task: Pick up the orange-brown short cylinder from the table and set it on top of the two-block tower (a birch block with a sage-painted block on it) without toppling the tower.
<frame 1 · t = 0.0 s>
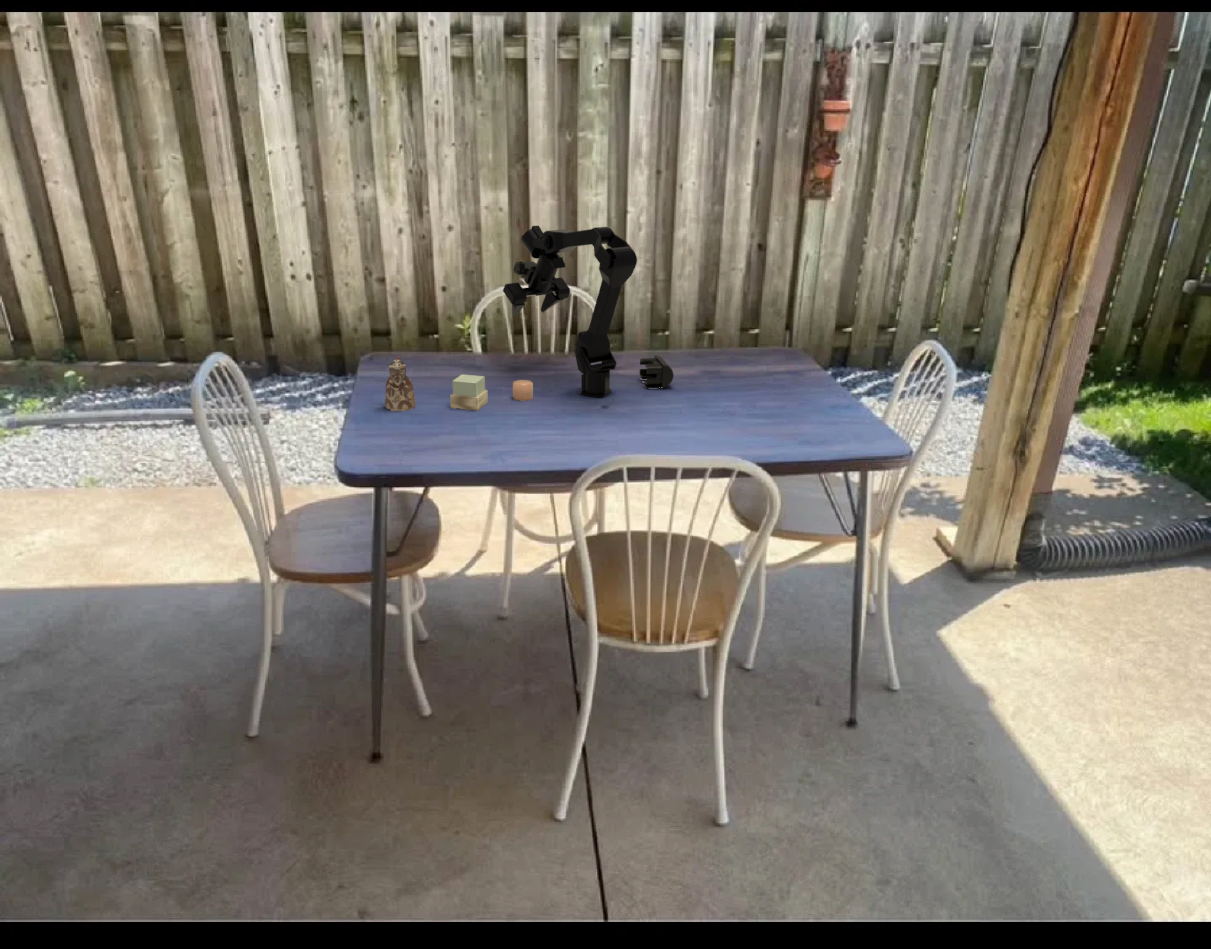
hand: (528, 313, 243), 15 cm above the table, tool tilted 35°, fingers open, 9 cm apart
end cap: (655, 385, 236), on the table
orange-brown short cylinder: (523, 398, 222), on the table
base block: (469, 406, 215), on the table, touching top block
top block: (469, 392, 214), point 3 cm above the table, touching base block
figurine: (400, 407, 213), on the table
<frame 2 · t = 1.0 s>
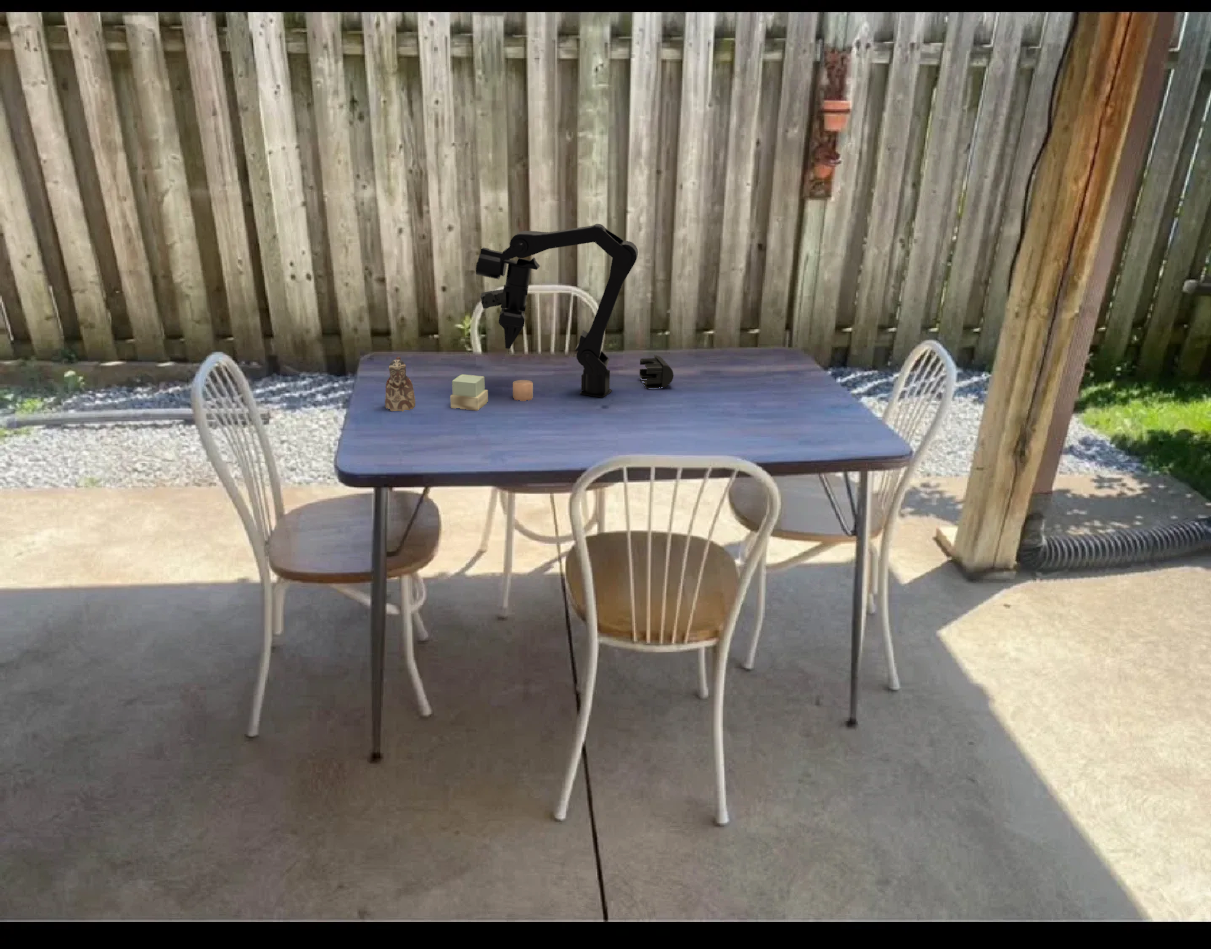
hand: (508, 343, 223), 12 cm above the table, tool pointing down, fingers open, 9 cm apart
base block: (469, 406, 215), on the table
top block: (468, 392, 214), point 3 cm above the table
everything else where it was.
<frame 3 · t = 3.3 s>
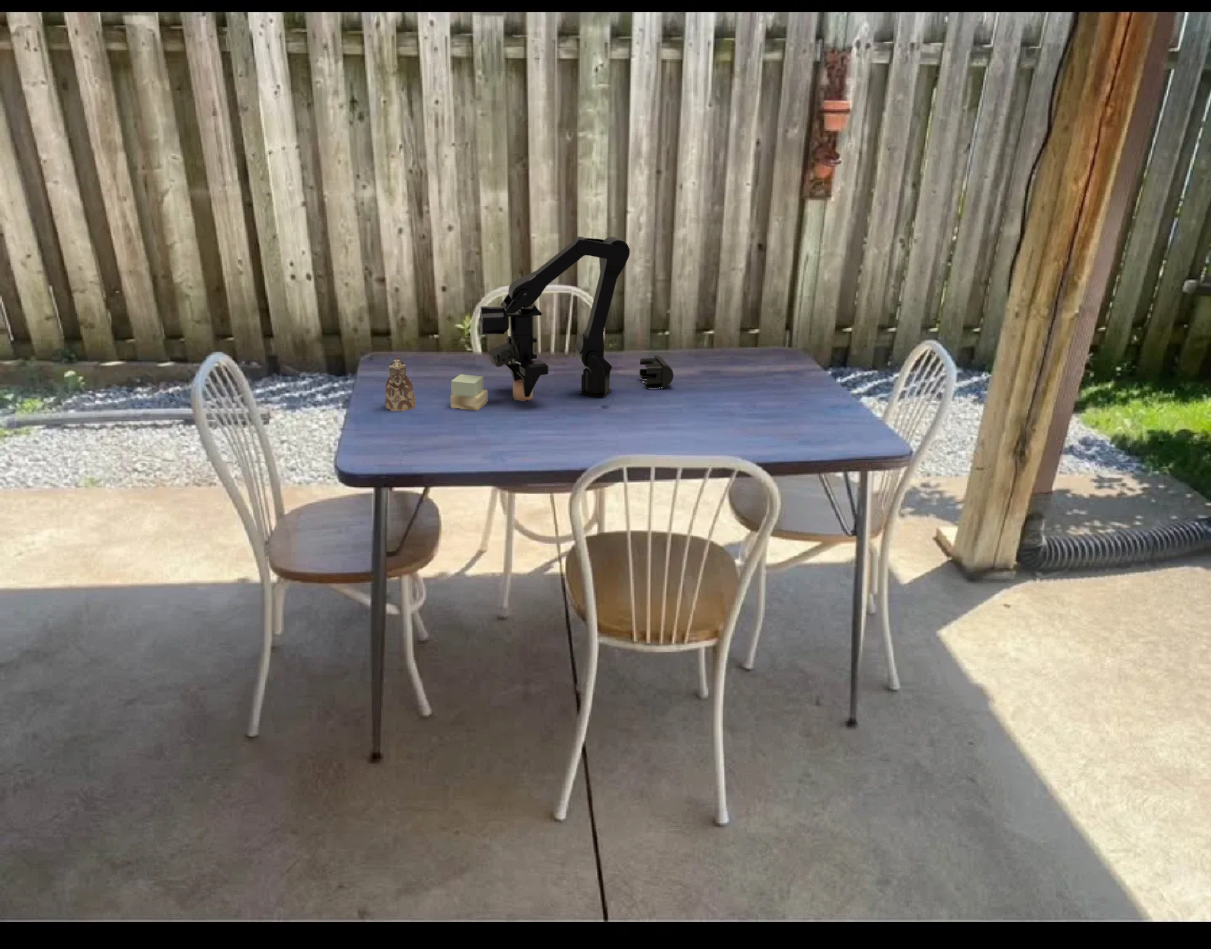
hand: (522, 393, 221), 1 cm above the table, tool pointing down, fingers closed on orange-brown short cylinder, 5 cm apart
orange-brown short cylinder: (522, 397, 221), on the table, touching gripper
everything else where it was.
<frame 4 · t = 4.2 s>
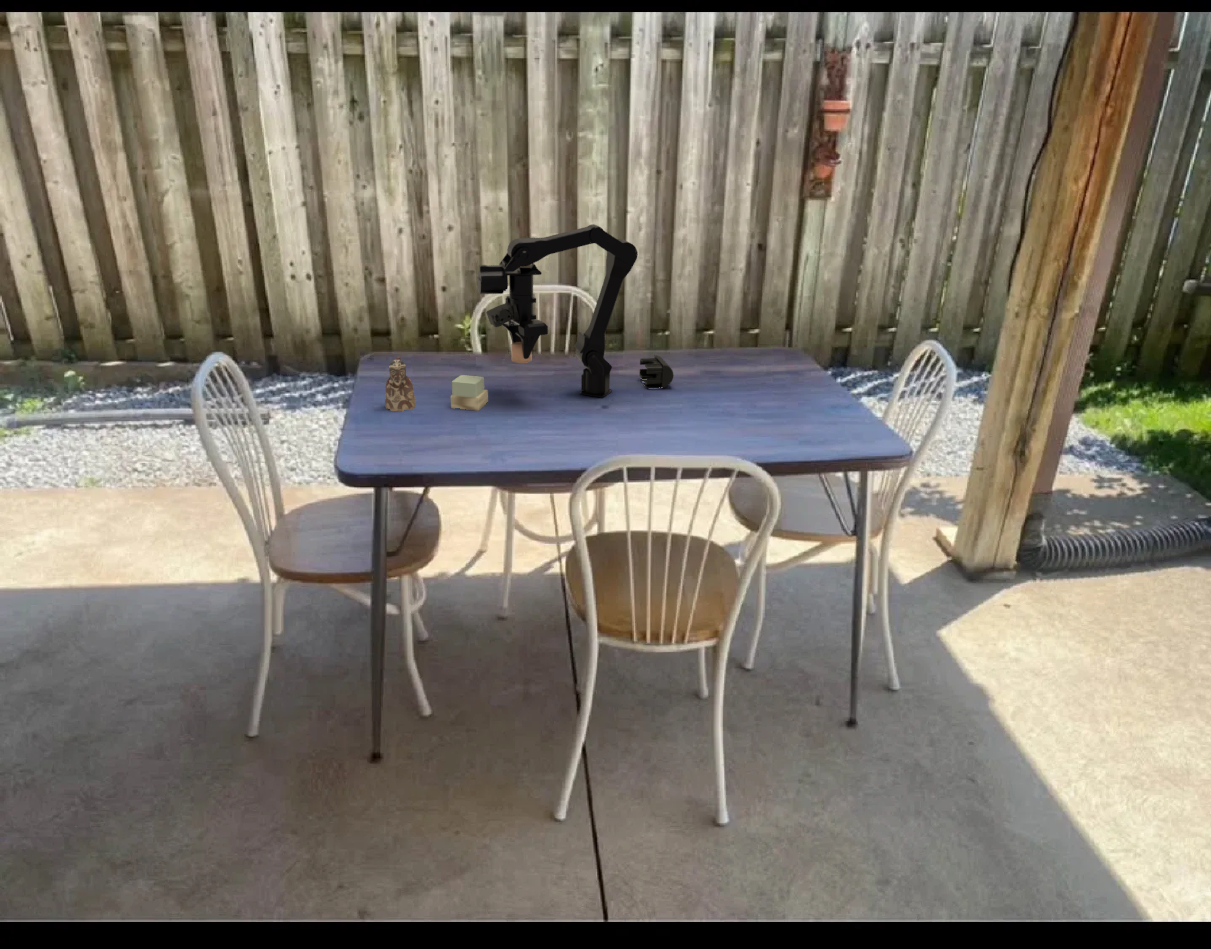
hand: (521, 355, 217), 11 cm above the table, tool pointing down, fingers closed on orange-brown short cylinder, 5 cm apart
orange-brown short cylinder: (521, 360, 218), point 10 cm above the table, touching gripper
base block: (469, 406, 215), on the table, touching top block
top block: (468, 393, 214), point 3 cm above the table, touching base block
everything else where it was.
when the fingers open (9 cm above the table, at t = 6.3 s): orange-brown short cylinder drops 1 cm, point 7 cm above the table.
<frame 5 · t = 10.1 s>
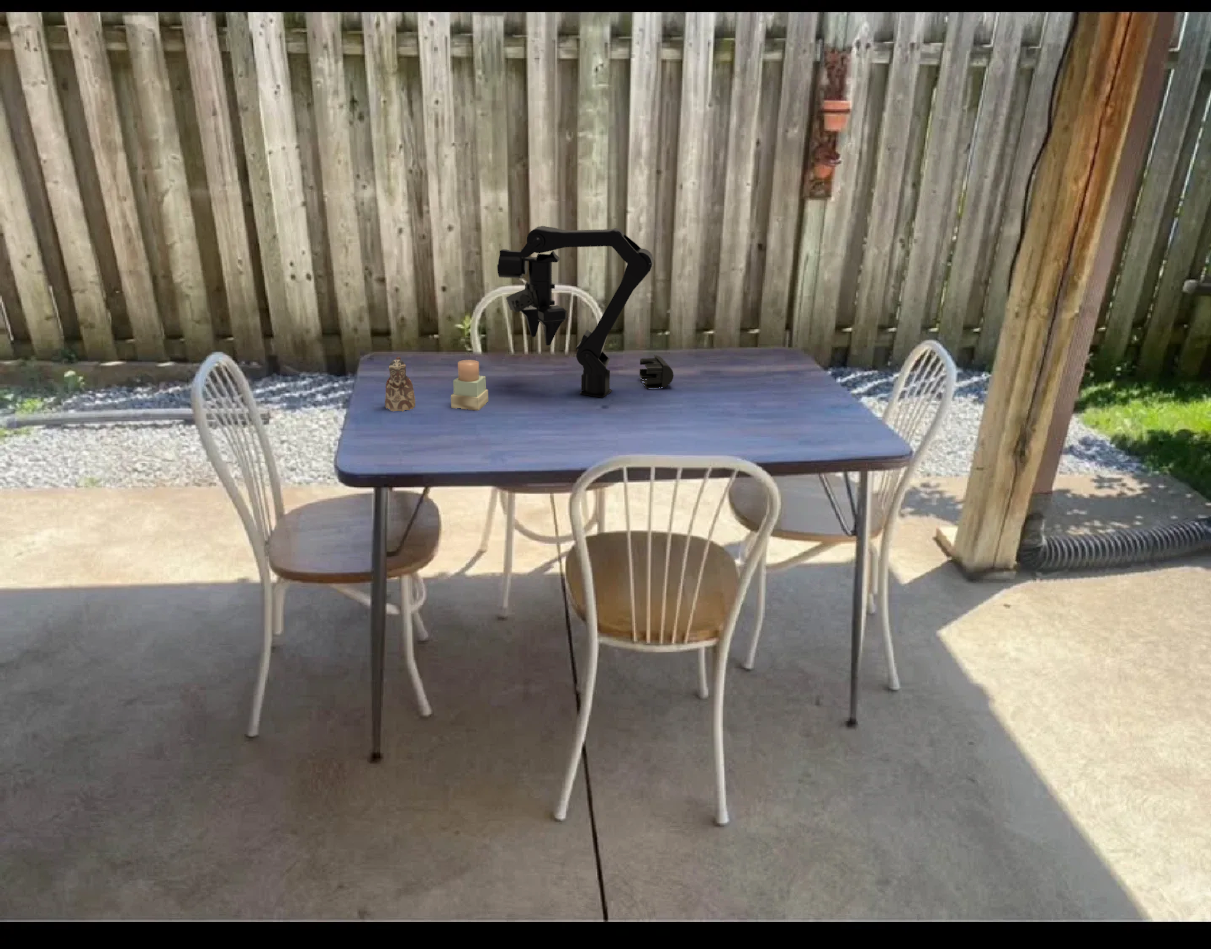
hand: (540, 340, 223), 13 cm above the table, tool pointing down, fingers open, 9 cm apart
orange-brown short cylinder: (468, 378, 213), point 7 cm above the table
everything else where it was.
at the end: orange-brown short cylinder 0.1 cm off-centre on the top block, point 3.5 cm above the top block's base; top block tilted 0°; orange-brown short cylinder tilted 0° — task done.
